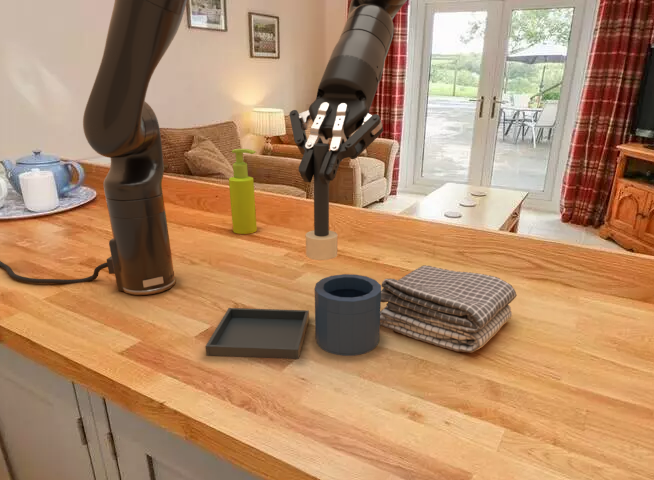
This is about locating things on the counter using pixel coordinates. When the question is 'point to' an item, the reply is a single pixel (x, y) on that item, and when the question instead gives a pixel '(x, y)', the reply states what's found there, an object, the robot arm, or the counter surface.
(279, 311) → the tray
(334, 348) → the dark gray pen holder
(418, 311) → the towel
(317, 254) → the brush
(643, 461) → the counter surface
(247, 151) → the soap dispenser
